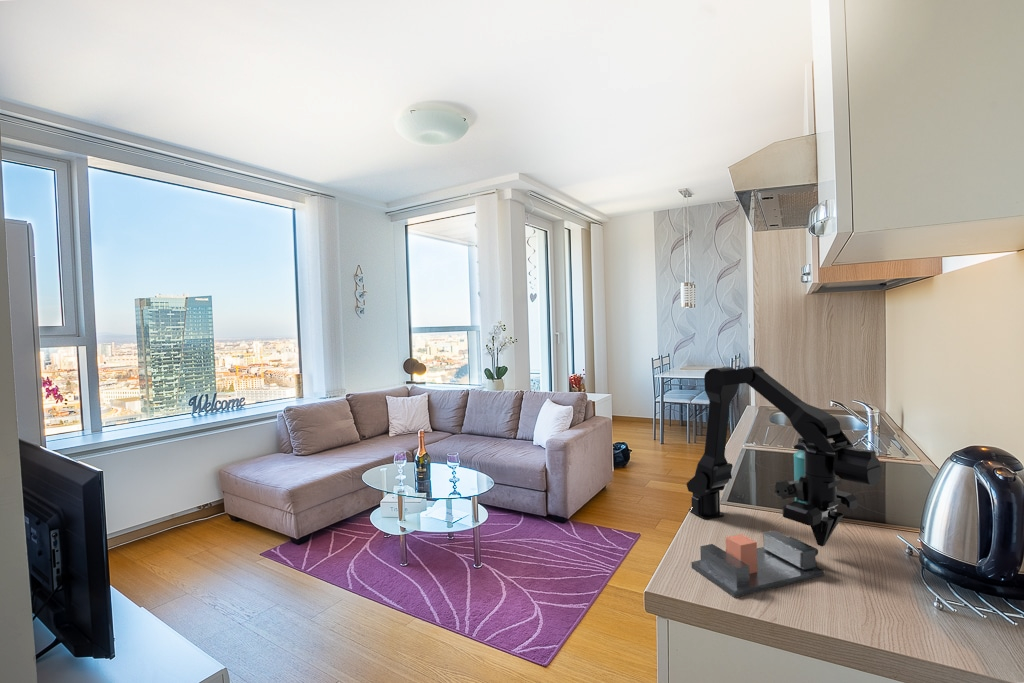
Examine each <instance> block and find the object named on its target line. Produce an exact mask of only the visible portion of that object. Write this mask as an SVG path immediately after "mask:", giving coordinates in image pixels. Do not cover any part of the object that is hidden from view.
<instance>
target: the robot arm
mask: <svg viewBox="0 0 1024 683" xmlns="http://www.w3.org/2000/svg"><path fill="white" fill-rule="evenodd" d="M703 378H704V379H703V382H704V391H705V393H706V397H707V398H708V400H709V402H708V403H709V404H708V411H707V413H708V414H707V421H706V422H707V423H706V431H705V444H704V452H703V454H702V456H701V458H700V459H699V461H698V462H697V463H696V464H697V465H696V468H695V472H694V476H693V477H692V478H690V480H688V482H686V487H687V491H688V492H689V493H692V495H691V508H692V507H693V508H692V510H691V508H689V509H688V511H689V512H690V510H691V512H690V513H692V514H694V515H696V516H698V517H700V518H702V519H704V520H708V519H709V520H710V519H713V518H719V517H724V516H725V513H724V512H721V500H720V499H721V497H720V496H721V495H720V494H721V493H720V491H723V490H724V489H725V488H726V485H727V484H729V482H730V480H731V479H732V478H733V477H732V476H733V475H732V470H733V466H734V465H733V463H730V462H728V461H727V458H726V444H727V435H728V427H729V426H728V424H729V417H730V415H729V414H730V407H731V402H733V401H732V400H733V399H734V398H735V396H736V395H737V393H738V389H739V387H740V384H747V385H748V386H749V387H751V388H752V389H753V390H754V391H756V392H757V393H758V394H759V395H760V396H761V397H763V398H764V399H765V400H766V401H768V402H769V403H770V404H771V405H773V407H775V408H776V409H777V410H779V411H780V412H781V413H782V414H784V415H785V416H786V417H787V419H788V420H789V422H790V424H791V427H792V428H793V430H794V431H796V433H797V434H798V435H799V436H800V438H803V439H802V440H801V441H800V442H799V443H798V442H797V444H795V445H793V449H794V450H797V451H799V450H802V451H804V458H805V475H804V476H801V477H800V478H799V480H798V481H794V480H790V481H788V480H786V479H784V480H778V481H775V485H774V487H775V488H774V493H775V494H776V495H777V496H778V497H780V498H781V500H787V499H789V498H790V499H792V498H793V499H794V498H795V497H798V500H800V501H803V502H804V501H806V502H807V504H804V503H800V502H797V501H795V500H794V501H793V502H790V503H789V502H788V503H787V504H785V505H784V506H782V507H781V508H782V514H781V515H782V517H783V518H785V519H788V520H790V521H794V522H796V523H800V524H803V525H806V526H809V527H810V529H811V531H812V534H813V536H814V539H815V542H816V544H817V546H819V547H825V546H826V544H827V542H828V541H829V539H830V538H831V536H832V534H833V532H834V531H835V529H836V528H837V526H838V524H839V523H840V521H841V519H842V518H843V517H844V513H841V512H839V511H838V510H837V508H836V507H837V506H840V505H845V506H846V508H847V510H850V511H852V510H855V509H857V508H858V504H859V503H858V498H857V497H856V496H855V494H854V493H851V492H848V491H847V492H846V491H842V490H839V489H837V486H839V485H841V484H842V482H841V480H845V481H847V482H848V481H849V482H853V483H857V484H863V485H866V486H870V487H876V486H877V485H878V484H879V482H880V481H881V478H882V474H883V473H882V471H883V466H882V465H881V462H880V460H879V458H878V457H877V452H876V451H875V450H872V449H861V448H855V447H854V445H853V443H852V442H851V441H850V439H849V438H848V437H847V435H846V434H845V433H844V431H843V430H842V428H841V423H840V421H839V420H838V419H837V417H836V416H834V415H832V414H831V413H828V412H826V411H825V410H823V409H821V408H819V407H816V406H813V405H812V404H809V403H806V402H805V401H803V400H802V399H800V398H799V397H798V396H797V395H795V394H794V393H793V392H791V391H790V390H789V389H787V388H786V387H785V386H784V385H782V384H781V383H780V382H779V381H777V380H776V379H774V378H773V377H772V376H771V375H770V374H768V373H767V372H765V370H764V369H763V368H762V367H760V366H759V365H758V366H757V365H755V366H753V365H751V366H746V367H743V368H738V369H735V368H734V367H731V366H724V367H714V368H713V367H712V368H710V369H708V370H707V371H706V372H705V373H704V377H703ZM830 441H833V442H830ZM837 476H838V477H839V478H837ZM837 511H838V512H837Z"/></svg>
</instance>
